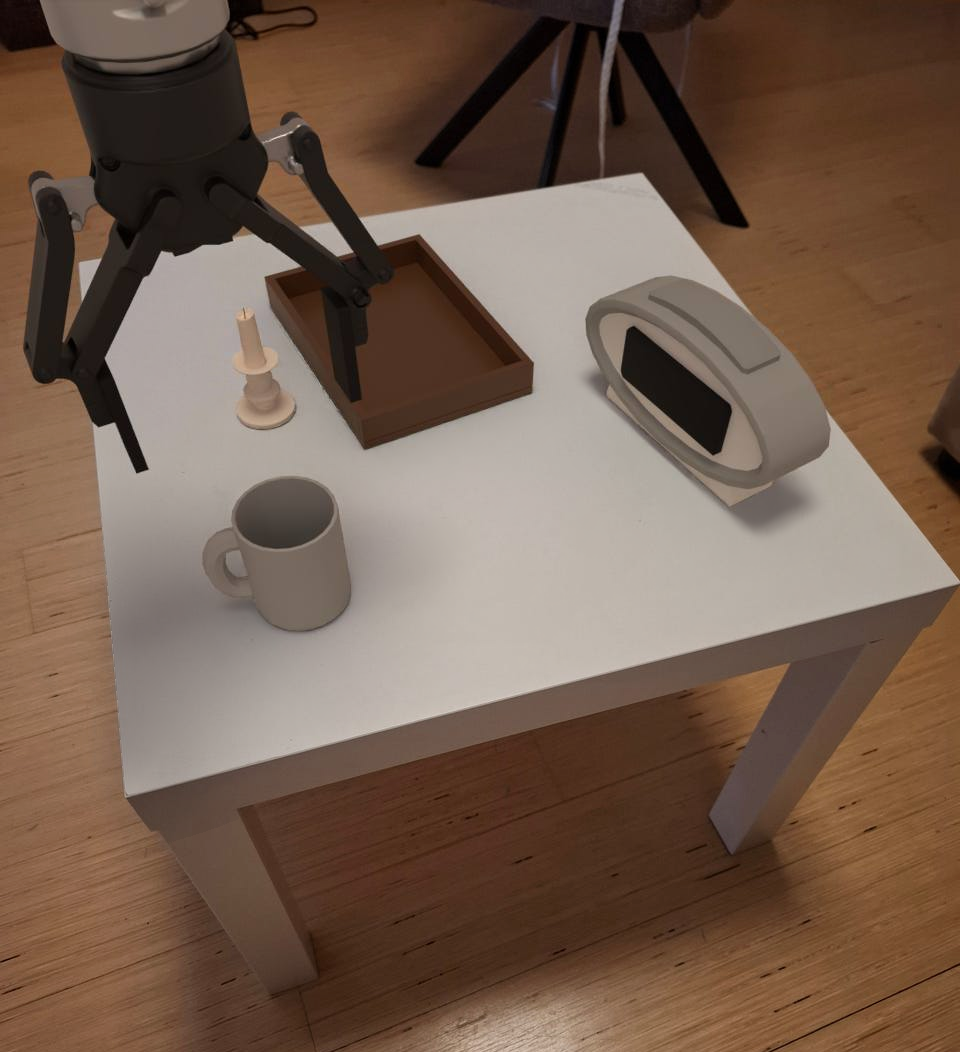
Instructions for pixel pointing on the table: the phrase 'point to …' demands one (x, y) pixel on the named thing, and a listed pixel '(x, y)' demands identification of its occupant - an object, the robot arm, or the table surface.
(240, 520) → the cup
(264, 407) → the candle
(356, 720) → the table surface
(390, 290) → the tray
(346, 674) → the table surface
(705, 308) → the alarm clock
